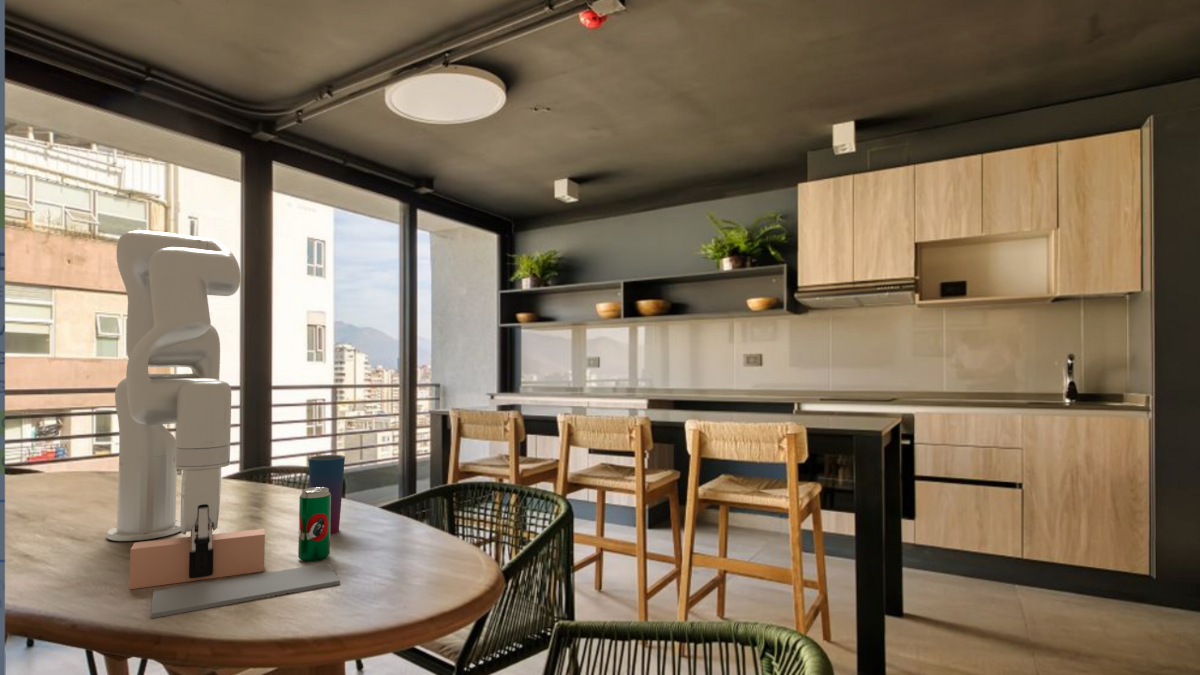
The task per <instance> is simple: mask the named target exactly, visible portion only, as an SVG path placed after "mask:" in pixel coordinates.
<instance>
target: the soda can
mask: <svg viewBox="0 0 1200 675" xmlns="http://www.w3.org/2000/svg"><path fill="white" fill-rule="evenodd" d="M328 490H329V488H326V487H313V488H310V487H306V488H304V489H302V490H301V494H300V495H299V499H298V500H299V506H298V507H299V508H298V549H297V550H298V551H297V552H298V553H297V557H298V559H299V560H300V561H301V562H305V563H315V562H321V561H324V560H326V559H327V558H328V557H329V556H330V554H331V534H330V517H331V494H330V492H329V491H328Z"/></svg>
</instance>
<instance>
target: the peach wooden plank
mask: <svg viewBox="0 0 1200 675" xmlns="http://www.w3.org/2000/svg"><path fill="white" fill-rule="evenodd" d="M265 530H266V529H265V528H259V529H249V530H241V531H230V532H229V531H228V532H222V533H221V532H220V533H212V549H213V574H212V575H210V576H204V577H198V578H189V552H191V547H192V537H191V536H183V537H174V538H167V539H157V540H146V541H145V540H144V541H139V542H134V543H133V545H132V547H130V550H129V551H130V552H129V553H130V554H129V585H128V586H129V587H128V589H129V590H136V589H141V588H143V589H144V588H151V587H158V586H165V585H172V584H179V583H187V582H195V581H202V580H210V579H217V578H223V577H230V576H238V575H239V576H241V575H245V574H253V573H259V572H261V571H262V572H264V571H265V546H266V545H265V542H266V541H265V540H266V539H265V537H266V532H265ZM196 537H198V536H196ZM195 551H196V550H195ZM262 572H261V573H262Z"/></svg>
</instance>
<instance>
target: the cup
mask: <svg viewBox="0 0 1200 675" xmlns="http://www.w3.org/2000/svg"><path fill="white" fill-rule="evenodd" d="M345 461H346V456H345V455H341V454H323V455H321V454H320V455H313V456H310V457H308V474H309V475H308V476H309V478H308V479H309V488H313V487H326V488H329V490H328V491H329V492H330V494H331V517H330V535H335V534H337V533H339V531H340V521H341V510H342V498H343V485H344V473H345Z"/></svg>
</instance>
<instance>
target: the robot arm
mask: <svg viewBox="0 0 1200 675" xmlns="http://www.w3.org/2000/svg"><path fill="white" fill-rule="evenodd" d="M238 262H239V261H238V260H237V259H236V257H235V255H234V254H233V253H232V252H231V251H230V249H229V248H227V247H226V246H225V245H224V243H222V242H221V241H219V240H217V239H214V238H210V237H203V236H194V235H187V234H177V233H174V232H173V233H171V232H164V231H154V230H131V231H130V230H129V231H126V232H125V233H122V235H120V236H119V238H118V240H117V243H116V263H117V268H118V272H119V274H120V277H121V279H122V282H123V285H124V287H125V291H126V295H127V311H126V312H127V314H126V317H127V318H126V341H125V342H126V355H127V359H128V360H127V365H126V373H125V374H126V375H125V378H124V379H122V380H120V381H119V383H118V384H117V386H116V388H115V392H114V401H115V402H114V403H115V408H116V415H117V422H118V437H119V442H118V443H119V444H118V446H119V447H118V449H119V450H118V483H117V484H118V486H117V487H118V488H117V512H116V513H117V514H116V515H117V516H116V517H117V518H116V519H117V521H116V526H115V527H112V528H110V529H109V530H108V531H107V532H106V538H107V539H108V540H110V541H114V542H135V541H145V540H146V541H148V540H152V539H157V538H158V539H159V538H164V537H168V536H171V535H175V534H178V533H179V532H181V534H183V535H186V534H187V532H190V537H192V547H191V552H189V578H198V577H204V576H210V575H212V574H213V549H212V534H213V532H214V531H215V530H217V529H218V525H219V517H220V509H221V508H220V507H221V493H222V492H221V490H222V488H221V487H222V468H224V467H228V466H230V464H231V430H232V429H231V428H232V427H231V425H232V424H231V423H232V422H231V421H232V387H231V385H230V384H229V383H228V382H226V381H222V380H220V373H221V372H220V371H221V370H220V367H221V365H220V364H221V341H220V336H219V332H218V330H217V329H216V327H215V326H213V325H212V324H211V323H212V322H211V314H210V307H209V300H208V299H209V298H208V296H220V297H230V296H233V295H235V294H236V293H237V292H238V291H239V288H240V285H241V279H242V278H241V270H240V265H239V263H238ZM149 368H190V369H191V372H192V373H150V372H149ZM173 424H176V426H175V429H176V430H175V435H173V434H172V432H171V431H169V429H167V428H166V427H165V425H173ZM178 471H182V476H181V487H180V488H181V490H180V491H181V492H180V519H176V516H177V515H176V511H177V479H178V478H177V476H178ZM196 536H198V537H196ZM195 550H196V551H195Z"/></svg>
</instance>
